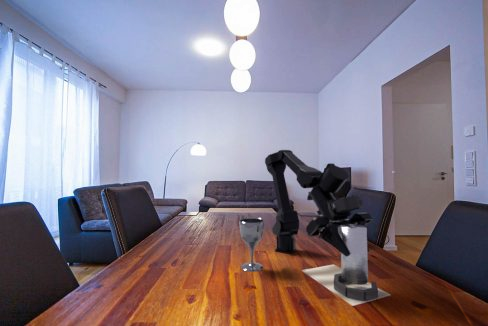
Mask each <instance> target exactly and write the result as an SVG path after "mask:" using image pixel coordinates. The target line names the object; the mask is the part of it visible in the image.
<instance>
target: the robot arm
mask: <svg viewBox="0 0 488 326" xmlns="http://www.w3.org/2000/svg"><path fill="white" fill-rule="evenodd" d="M264 164H265V165H266V169H267V170H266V171H267V172H268V173H269V174H270V175H271V176H272V181H273V187H274V192H275V198H276V202H277V209H278V211H277V213H276V216H275V220H276V221H275V223H274V225H273V227H272V229H271V230H272V234H273V235H275V236H276V239H275V240H276V248H274V251H275V252H280V253H285V254H292V253H294V251H296V249H297V247H296V244H297V243H296V240H297V239H296V238H295V236H296V235H298V234H299V228H300V219H299V214H298V212H297V210H294V209H293V208H292V207H291V202H290V196H289V192H288V186H287V182H286V178H285V171H286V169H287V167H288V168H289V169H290V170H291V171H292V172H293V173H294V174H295V175H296V181H297V183H298V184H299V186H300V187H301V188H302V189H311V190H310V191H308V193H307V197H306V200H307V201H313V202H314V204H315V206H316V207H317V209H318V210H317V211H316V213H317V215H318V216H314V217H312V219H311V220H310V221H309V223H308V224H307V225H306V227H305V230H306V233H307V236H308V237H309V238H312V237H313V238H314V237H318V239H319V240H323V241H324V242H326V243H327V244H329V246H332V247H333V248H334V249H336V250H338V252H340V254H341V253H342V254H344V255H345V256H346V257H347V256H349V255H350V254H349V251H348V249H347V247H346V245H345V244H344V242H343V240H342V238H341V237H340V235H339V233H338V227H340V225H341V224H358V225H362V226H365V227H366V228H367V226H368V225H369V224H370V223H371V222H373V220H374V218H373V217H372V216H371V214H370V213H369V212H365V211H364V212H356V213H354V214H353V213H352V212H353V211H355V210H360V209H361V207H362V206H363V204H364V203H363V199H361V197H360V196H359V195H358V194H351V195H349V196H344V197H341V198H339V199H336V197H335V196H334V195H333V194H337V193H338V192H339V190H341V188H342V186H343V185H344V184H345V182H346V181H347V180H348V179H349V173H348V172H347V170H345V169H344V168H342V167H340V166H338V165H335V163H330V162H329V163H327V164H326V166H325V169H324V170H323V172H322V171H321V170H319V169H317V168H315V167H311V166H309V165H307V163H305V162H303V161H302V160H301V158H299V157H298V156H297V155H296V154H294V153H293V151H292V150H290V149H281V150H278V151H276V152H274V153H270V154H268V155H267V156H266V157H265V159H264ZM352 214H353V215H352ZM351 215H352V216H351ZM350 216H351V217H350ZM348 217H350V218H348ZM369 252H370V248H369V245H368V243H367V254H368V253H369Z"/></svg>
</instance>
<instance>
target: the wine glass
mask: <svg viewBox="0 0 488 326" xmlns="http://www.w3.org/2000/svg"><path fill="white" fill-rule="evenodd" d="M264 222H265V219H264V218H261V217H244V218H241V219H239V232H240V236H241V237H240V238H241V239H242V240H243V242H244V243H245V244H246V245H247V246H248V248H249V253H250V262H245V263H242V265H240V268H241V270H243V271H245V272H251V273H255V272H256V273H257V272H259V271H262V270H263V269H264V265H263V264H262V263H259V262H255V261H254V253H255V248H256V247H257V245H258V244H259V242H260V241H261V240H262V239H263V235H264V227H265V223H264Z"/></svg>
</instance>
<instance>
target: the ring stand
mask: <svg viewBox="0 0 488 326" xmlns="http://www.w3.org/2000/svg"><path fill="white" fill-rule="evenodd" d="M301 272H303V273H304V274H305V275H307V276H308V277H310V278H312V279H313V280H315V281H316V282H317V283H319V284H320V285H322V286H323V287H325V288H326V289H328V290H329V291H330V292H332V293H333V294H334V295H336V296H337V297H339V298H340V299H342V300H343V301H345V302H346V303H347V304H349V305H350V306H352V307H354V306H358V305H361V304H365V303H369V302H372V301H375V300H378V299H379V300H380V299H382V298H386V297H390V296H391V294H390V293H389V292H387V291H384V289H381V288H378V284H377V282H376V281H370V282H368V283H367V284H364V285H357V284H352V283H349V282H347V281H345V280H343V279H342V277H341V267H339V266H337V265H335V264H334V263H333V264H329V265H328V264H327V265H323V266H319V267H318V266H317V267H313V268H306V269H302V270H301Z"/></svg>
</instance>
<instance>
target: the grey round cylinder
mask: <svg viewBox="0 0 488 326" xmlns="http://www.w3.org/2000/svg"><path fill="white" fill-rule="evenodd" d="M367 233H368V229H367V226H366V227H365V226H362V225H358V224H341V225H340V236H341V238H342V240H343V242H344V244H345V245H346V247H347V249H348V251H349V254H350V255H349V256H347V257H346V256H345V255H344V254H342V253H341V252H340V268H341V277H342V279H343V280H345V281H347V282H349V283H352V284H357V285H364V284H367V283H369V267H368V266H369V263H368V260H369V259H368V253H367V244H368V236H367Z"/></svg>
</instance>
